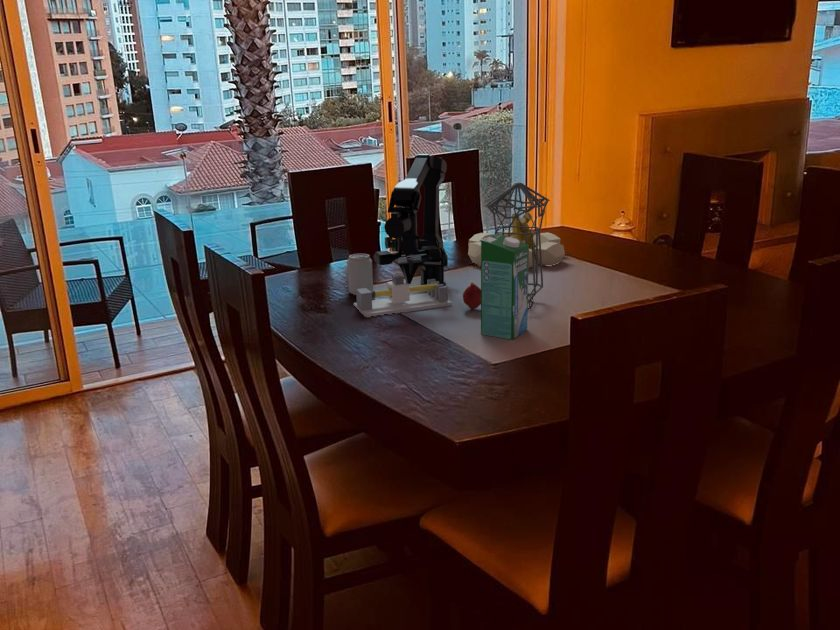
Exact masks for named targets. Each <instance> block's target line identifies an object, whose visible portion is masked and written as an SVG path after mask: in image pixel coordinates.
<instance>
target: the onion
mask: <svg viewBox="0 0 840 630" xmlns="http://www.w3.org/2000/svg"><path fill="white" fill-rule="evenodd" d="M462 300H463V302H464V304H465V305H466V306H467V307H468V308H469V309H470V310H472V311H473V310H476V309H477V308H478V307H481V287H479V286H478V285H476V284H475V283H474V282H473V281H471V282H470V285H469V286H467V288H466V289H465V290H464V291H463V293H462Z"/></svg>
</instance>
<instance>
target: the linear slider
mask: <svg viewBox="0 0 840 630" xmlns="http://www.w3.org/2000/svg"><path fill="white" fill-rule="evenodd" d="M448 287H449V286H445V285H443V284H439V281H436V280H435V279H430V280H427V285H424V284H421V285H413V286H409V293H410V301H405V302H398V303H393V302H391V301H390V300H389V299H388V296H391V295H392V289H389V290H387V289H382V290H375V291H374V290H373V291H369V290H368V289H367V288H362V289H356V302H353V307H354V306H355V307H356V308H357V309H358V310H359V311H358V310H357V309H356V308H355V307H354V308H355V309H356V310H357V311H358V312H359V313H361V314H362V315H363V316H364V318H366V317H367V318H372V317H371V316H374V317H378V316H377V315H381V316H385V315H384V314H388V315H393V314H392V313H395V314H401V313H400V312H403V313H408V312H415V311H416V312H417V311H423V310H430V309H438V308H445V307H452V306H453V302H452V301H450V300H449V299H448V296H449V293H448V290H449V289H448ZM421 292H425V293H421ZM412 293H417V294H412ZM381 297H383V298H381ZM384 297H387V298H384ZM376 298H378V299H376Z"/></svg>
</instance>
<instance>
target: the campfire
mask: <svg viewBox="0 0 840 630" xmlns="http://www.w3.org/2000/svg"><path fill="white" fill-rule="evenodd" d="M516 214H517V212H516ZM529 214H530V216H531V218H532V219H533V216H532V214H531V212H529ZM511 216H515V213H512V214H511ZM530 216H529V215H528V213H527V212H526V213H524V214H523V216H522V217H520V216H518V218H519V220H520V221H521V223H522V225H523V226H525V227H530V225H529V222H530V221H532V220H531V218H530ZM513 219H514V218H511V221H512V220H513ZM511 226H521V225H520V223H519V221H518V220H517V218H516V219H515V220H514V222H513V224H512V225H511ZM511 228H512V229H510V233H525V231H524V230H523V228H516V227H511ZM508 230H509V229H504V232H506V233H508ZM525 230H526V231H527V233H530V230H531V228H525ZM534 232H535V231H534V230H533V229H532V231H531V233H534ZM494 234H495V233H488V232H479V233H476V234H473V236H472V237H471V238H469V239H468V243H467V244H468V252H467V255H468V256H469V258H470V260H471V262H472V263H475V264H474V265H476V264H477V265H476V266H478V265H479V266H478V267H480V266H481V240H482V239H484V238H487V237H489V236H492V235H494ZM499 234H500V233H499ZM501 235H502V234H501ZM504 236H507V237H508V234H504ZM510 237H512V238H515V239H518V240H519V241H520V242H523V243H525V235H520V234H510ZM540 239H541V256H542V266H543V265H553V264H556V263H558V262H560V263H561V261H562V260H563V258H564V257H565V255H566V254H565V247H564V245H563V244H561V238H560V237H559V236H557V235H556V234H554V233H550V232H540ZM533 242H534V257H536V234H533ZM527 244H528V245H529V269H530V268H533V262H532V241H531V235H527ZM534 263H535V266H536V258H534ZM539 264H540V254H539V237H538V265H539Z"/></svg>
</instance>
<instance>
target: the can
mask: <svg viewBox="0 0 840 630" xmlns="http://www.w3.org/2000/svg"><path fill="white" fill-rule="evenodd" d="M373 274H374V273H373V259H371V257H370V254H367V253H353V254H350V255H349V256H348V260H347V280H348V281H347V282H348V292H349V293H350V294H351V295H352V294H353V296H355V295H356V289H362V288H367V289H368V290H369V291H374V279H373Z"/></svg>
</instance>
